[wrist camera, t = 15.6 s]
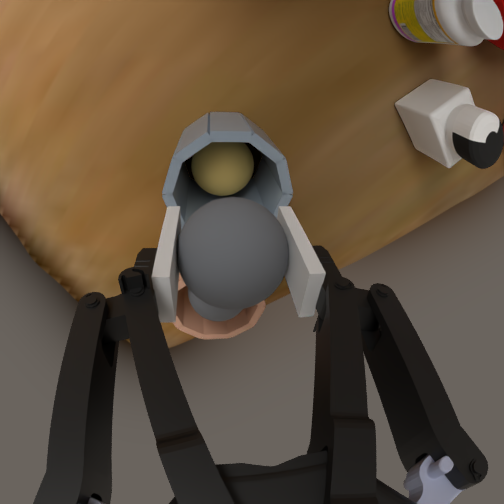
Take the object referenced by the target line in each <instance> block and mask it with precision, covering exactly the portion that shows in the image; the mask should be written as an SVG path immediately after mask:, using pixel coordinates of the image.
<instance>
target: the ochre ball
mask: <svg viewBox="0 0 504 504" xmlns="http://www.w3.org/2000/svg"><path fill="white" fill-rule="evenodd" d="M191 167H192V173H193V176H194V179H195V181H196V182H197V184H198V185H199V186H200V187H201V188H202V189H203V190H205V191H206V192H208V193H210V194H213V195H217V196H227V195H232V194H234V193H237V192H238V191H240V190H241V189H243V188H244V187H245V186H246V185H247V184H248V182H249V181H250V179H251V177H252V174H253V170H254V160H253V156H252V153H251V151H250V149H249V148H248V146H247V145H246V144H245V143H244V142H211V143H210V144H208V145H207V146H205V147H204V148H202V149H201V150H199V151H198V152H197V153H195V154H194V155H193V158H192V165H191Z"/></svg>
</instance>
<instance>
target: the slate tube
mask: <svg viewBox="0 0 504 504" xmlns="http://www.w3.org/2000/svg"><path fill="white" fill-rule="evenodd" d="M211 142H249V143H250V144H252V145H253V146H254V147H256V148H257V149H258V150H260V151H261V155H262V158H261V160H260V163H259V165H258V167H257V170H256V172H255V174H254V177H253V178H252V179H250V181H249V182H248V184H247V185H246V186H245V187H244V188H243V189H241V190H240V191H238V192H237V193H234V194H232V195H227V196H217V195H213V194H210V193H208V192H206V191H205V190H203V189H202V188H201V187H200V186H199V185H198V184H197V182H196V181H195V180H193V179H191V178H190V175H189V172H188V169H187V167H186V164H185V160H187V159H188V158H189V157H191V156H192V155H194V154H195V153H197V152H198V151H199V150H201V149H202V148H204V147H205V146H207V145H208V144H210V143H211ZM292 193H293V190H292V185H291V180H290V175H289V170H288V166H287V161H286V158H285V156H284V155H283V154H282V153H281V151H280V150H279V149H278V148H277V147H276V145H275V144H274V143H273V142H272V140H271V139H270V138H269V137H268V136H267V134H266V133H265V132H264V131H263V130H262V129H261V128H260V127H258V126H257V125H256V124H255V123H253V122H252V121H251V120H249V119H248V118H247V117H245V116H244V115H243V114H242V113H239V112H210V114H209V113H206V114H205V115H204V116H202V117H201V118H199V119H198V120H196V121H195V122H193V123H192V124H191V125H189V126H188V127H186V128H185V129H184V130H183V133H182V135H181V137H180V140H179V142H178V145H177V147H176V150H175V152H174V155H173V157H172V160H171V164H170V167H169V170H168V174H167V177H166V181H165V184H164V188H163V191H162V194H163V195H162V197H163V199H164V202H165V204H166V206H167V207H168V206H180V213H181V230H182V228H183V226H184V224H185V223H186V221H187V220H188V218H189V217H190V216H191V215H192V214H193V213H194V212H195V211H196V210H198V209H199V208H200V207H202V206H203V205H205V204H206V203H209V202H211V201H213V200H217V199H220V198H226V197H239V198H245V199H249V200H252V201H254V202H256V203H258V204H260V205H262V206H264V207H265V208H267V209H268V210H269V211H270V212H271V213H272V214H273V215H274V216H275V217H276V218H277V215H278V208H279V206H288V204H289V202H290V200H291V198H292V196H293V195H292Z"/></svg>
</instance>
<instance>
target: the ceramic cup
mask: <svg viewBox="0 0 504 504" xmlns="http://www.w3.org/2000/svg"><path fill="white" fill-rule="evenodd" d="M493 1H494V2H495V4H496V5H497V7H498V9H499V11H500V14H501V17H502V20H503V33H502V36H501V37H500V38H499V39H497V40H489V39H487V40H488V41H490V42H491V43H493V44H494V45H496V46H497V47H499V48H501V49H503V50H504V0H493Z"/></svg>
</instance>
